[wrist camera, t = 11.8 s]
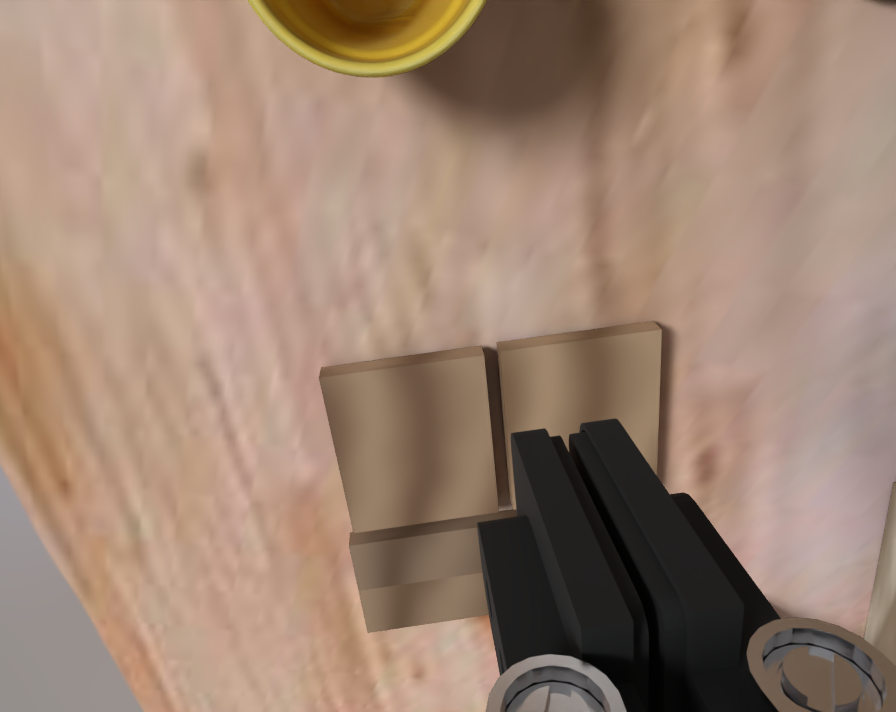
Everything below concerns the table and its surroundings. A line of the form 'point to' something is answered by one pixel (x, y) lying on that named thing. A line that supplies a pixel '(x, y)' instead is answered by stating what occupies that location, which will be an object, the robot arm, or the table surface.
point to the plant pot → (368, 31)
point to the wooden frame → (885, 591)
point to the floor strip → (421, 572)
